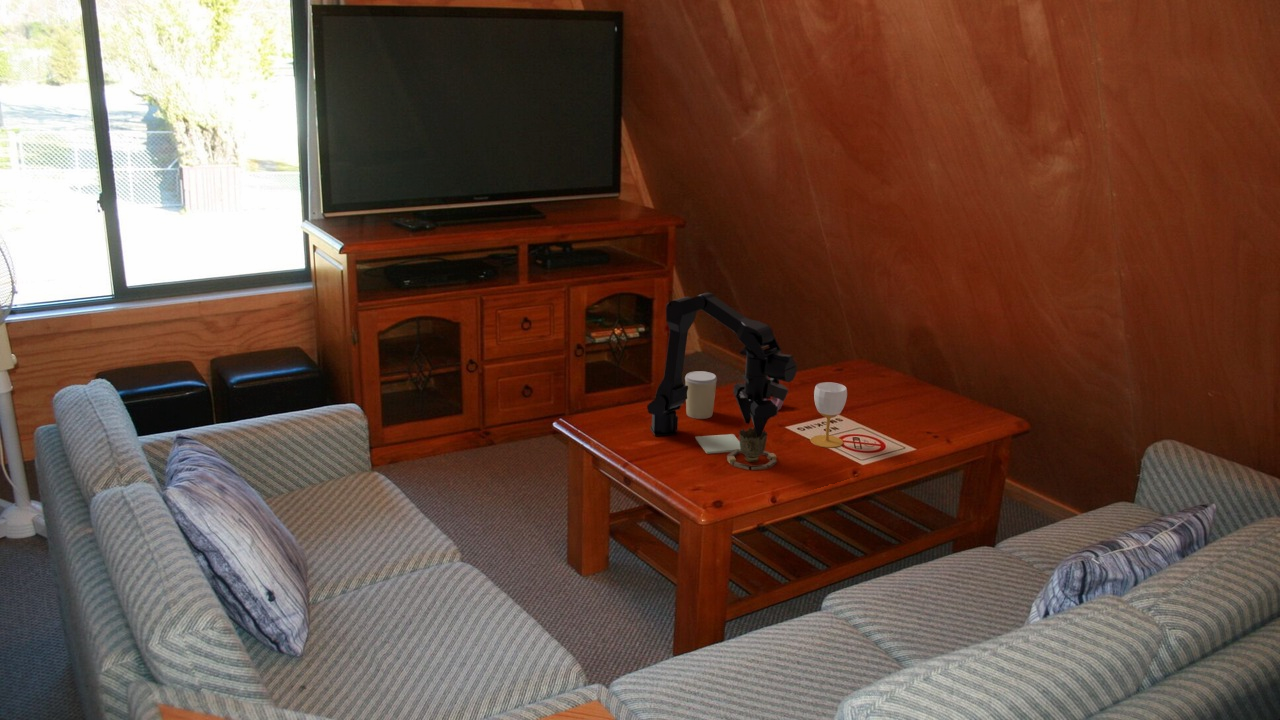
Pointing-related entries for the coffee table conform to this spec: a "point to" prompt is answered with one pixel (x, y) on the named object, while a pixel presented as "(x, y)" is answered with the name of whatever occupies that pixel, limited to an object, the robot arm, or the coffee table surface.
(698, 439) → the felt pad
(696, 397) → the coffee cup
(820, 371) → the coffee table surface
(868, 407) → the coffee table surface
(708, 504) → the coffee table surface
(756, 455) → the cup
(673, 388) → the robot arm
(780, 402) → the video game controller
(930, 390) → the coffee table surface
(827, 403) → the cup
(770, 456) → the ring
